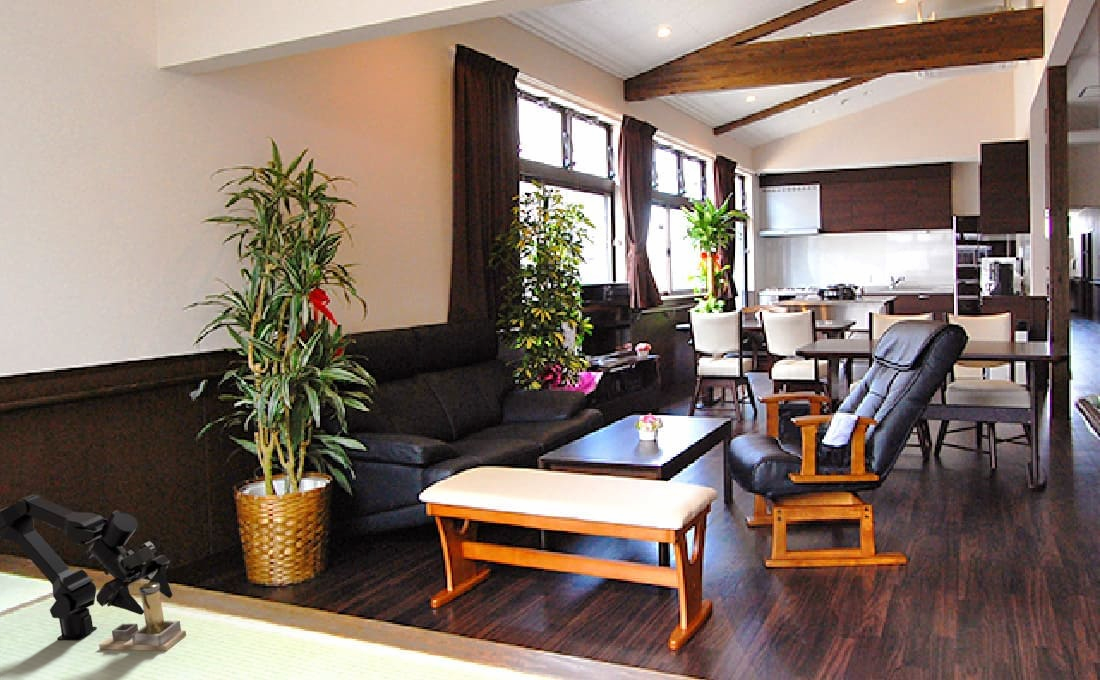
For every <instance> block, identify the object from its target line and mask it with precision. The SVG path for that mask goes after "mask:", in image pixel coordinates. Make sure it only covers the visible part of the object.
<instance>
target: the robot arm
mask: <svg viewBox="0 0 1100 680" xmlns="http://www.w3.org/2000/svg"><path fill="white" fill-rule="evenodd" d="M34 519H35V520H38V521H41V522H43V523H45V524H48V525H49V526H51V527H54V528H57V529H59V530H61V531H62V532H63V533H64V535H65V538H66V539H68V540H70V541H71V542H73V543H74V544H76V545H78V546H83V545H85V544H88V543H90V542H92V541H94V542H93V543H92V544H90V545H89V546H86V553H85V555H86V556H85V557H86V559H87V560H88V559H91V558H93V557H94V558H95V559H96V560H97V561H98V562H99V564H101V565H102V566H103V567H104V569H105V570H104V572H103V573H104V574H105V575H106V576H109V575H111V576H112V577H113V579H111V580H109V581H107V582H105V583H104V584H103V586H101V588H100V590H99V591H98V593H97V587H96V585H95V582H94V579H93V578H91V577H90V576H89V575H88V574H87V572H86V571H85V570H84V569H80V570H78V571H75V570H71V569H70V567H69V566H68V565H67V564H66V563H65V562H64V560H62V558H61V557H60V556H59V555H58V554H57V553H56V552H55V551H54V549H52V547H51V545H49V544H48V543H47V542H46V541H45V539H44V538H43V537H42V536H41V534H39V533H38V531H37V530H36V529H35V523H34V522H35V520H34ZM138 525H139V523H138V520H137V519H136V517H134V516H133V515H131V514H128V513H123V512H120V511H119V510H118V509H117V510H115V511H113V512H111V513H110V514H109V515H108V518H104V517H103V516H101V515H100V514H97V513H92V512H77V511H73V510H71V509H69V508H66V507H64V506H62V505H59V504H57V503H54V502H51V501H50V500H47V499H46V498H43V497H42V495H40V494H32V495H28V496H26V497H22V498H20V499H19V500H18V501H17V502H15V503H13V504H12V505H10V506H6V507H4V508H1V509H0V538H1V539H3V540H6V541H11V543H14V544H17V546H18V548H19V549H21V551H22V552H23V553H24V554H25V556H27V558H28V559H30V561H31V562H32V563H33V564H34V565H35V566H36V568H37V569H38V570H39V571H40V573H42V574H43V576H45V578H46V579H47V580H48V582H50V583H51V586H52V596H53V598H54V600H55V601H54V602H53V604H52V605H51V607H50V609H49V613H50V615H51V617H52V618H53V619H59V620H58V622H59V627H60V632H61V635H60V636H58V637H57V641H81V640H82V639H84V638H85V637H88V636H89V635H90V634H92V633H93V632H94V631H96V630H97V626H94V625H93V619H92V614H91V613H90V608H89V607H91V606H93V605H95V600H96V602H97V604H99V605H100V606H101V607H104V606H107V607H108V608H109V607H111V606H112V607H115V608H119V609H123V610H126V611H129V612H132V613H134V614H137V615H141V616H142V615H143V614H144V609H143V606H141V605H140V603H138V602H137V600H136V599H135V598H134V597H133V596H132V595H131V592H130V589H129V586H131V585H133V584H135V583H137V582H139V581H141V580H143V579H145V580H147V581H149V582H148V583H152V582H158V583H159V584H160V590H159V591H160V594H163V596H164V597H167V598H168V599H171V598H172V597H173V592H172V589H171V586H170V584H169V581H168V579H167V578H168V577H167V575H166V574H167V573H166V571H167V569H168V567H169V564H170V562H171V560H170V559H169V558H168V557H167V556H166V555H164V554H160V555H158V556H156V557H155V554H156V553H157V548H156V545H154V543H152V542H151V541H150V540H149V541H147V542H144V543H143V544H142V545H140V549H138V550H137V551H135V552H134V551H133V550H132V549H128V550H127V551H126V549H125V548H124V546H125V545H126V544H127V542H128V541H129V539H130V538H131V537H132V535H133V534H134V533H135V531H136V530H137V528H138V527H139V526H138ZM148 560H149V561H148ZM147 561H148V563H146V562H147ZM143 567H144V568H143ZM96 593H97V594H96Z"/></svg>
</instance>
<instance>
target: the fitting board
mask: <svg viewBox="0 0 1100 680" xmlns="http://www.w3.org/2000/svg"><path fill="white" fill-rule="evenodd" d="M164 623H165V630H164V631H163V632H161V633H160V634H147V629H146V624H145V625H143V626H142V627H140V629H139V626H138V623H121V624H120V625H118V626H117V627H115V628H114V629H113V630H112V631H111V634H112V635H110V636H109V637H107V638H106V639H104V640H103V641H102V642H101V643H98V647H99V650H122V651H123V650H125V651H126V650H128V651H129V650H130V651H131V650H132V651H168V650H170V649H171V648H173V646H175V645H177V644H178V643H179V642H180V641H181V640H183V639H184V638H185V637H186V636H187V631H186V630H182V627H181V626H182V625H181V621H180V620H164Z"/></svg>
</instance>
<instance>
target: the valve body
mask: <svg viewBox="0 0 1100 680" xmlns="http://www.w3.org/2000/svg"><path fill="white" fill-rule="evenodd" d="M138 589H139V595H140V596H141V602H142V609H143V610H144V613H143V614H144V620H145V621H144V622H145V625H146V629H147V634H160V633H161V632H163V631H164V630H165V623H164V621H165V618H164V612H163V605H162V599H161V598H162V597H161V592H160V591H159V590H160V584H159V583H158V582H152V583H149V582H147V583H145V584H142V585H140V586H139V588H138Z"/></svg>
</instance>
